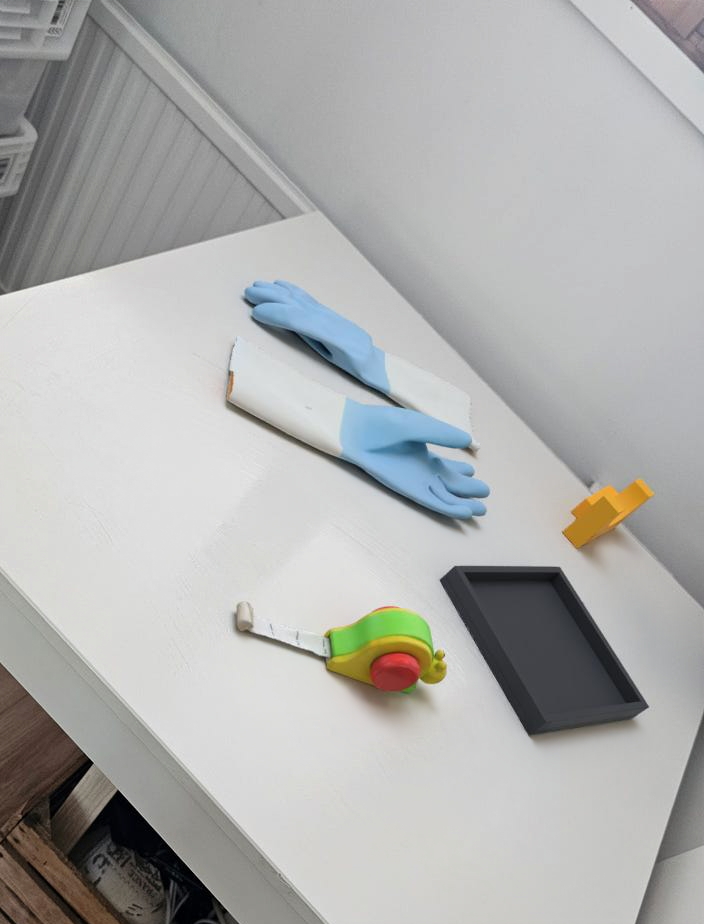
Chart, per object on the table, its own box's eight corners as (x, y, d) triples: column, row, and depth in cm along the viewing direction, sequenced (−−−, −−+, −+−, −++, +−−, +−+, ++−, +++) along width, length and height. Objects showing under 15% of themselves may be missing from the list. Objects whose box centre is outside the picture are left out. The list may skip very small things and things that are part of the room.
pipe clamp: (591, 501, 130) (630, 467, 126) (614, 527, 129) (654, 494, 125) (552, 520, 121) (593, 484, 117) (576, 548, 121) (618, 513, 116)
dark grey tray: (544, 579, 112) (560, 566, 111) (632, 718, 105) (649, 707, 104) (439, 579, 101) (454, 565, 100) (528, 735, 94) (546, 722, 93)
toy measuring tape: (430, 719, 88) (481, 678, 84) (232, 649, 80) (278, 599, 76) (420, 661, 92) (468, 618, 88) (231, 588, 84) (274, 538, 80)
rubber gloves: (241, 265, 118) (271, 218, 114) (467, 400, 128) (502, 361, 124) (222, 404, 99) (257, 355, 95) (487, 548, 110) (530, 509, 106)
